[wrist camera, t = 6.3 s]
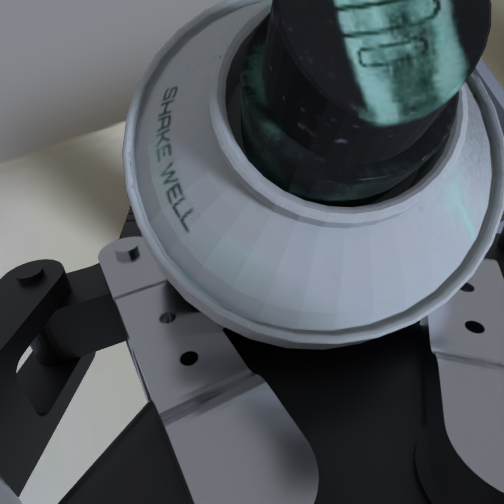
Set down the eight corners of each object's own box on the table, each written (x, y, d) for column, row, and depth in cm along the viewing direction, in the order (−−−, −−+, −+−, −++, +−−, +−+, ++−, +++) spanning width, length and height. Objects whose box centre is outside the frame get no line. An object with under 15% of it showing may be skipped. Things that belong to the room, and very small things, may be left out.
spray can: (253, 222, 23) (344, -358, 4) (321, 284, 23) (872, -5, 3) (189, 287, 22) (-160, -10, 3) (258, 354, 22) (456, 596, 2)
